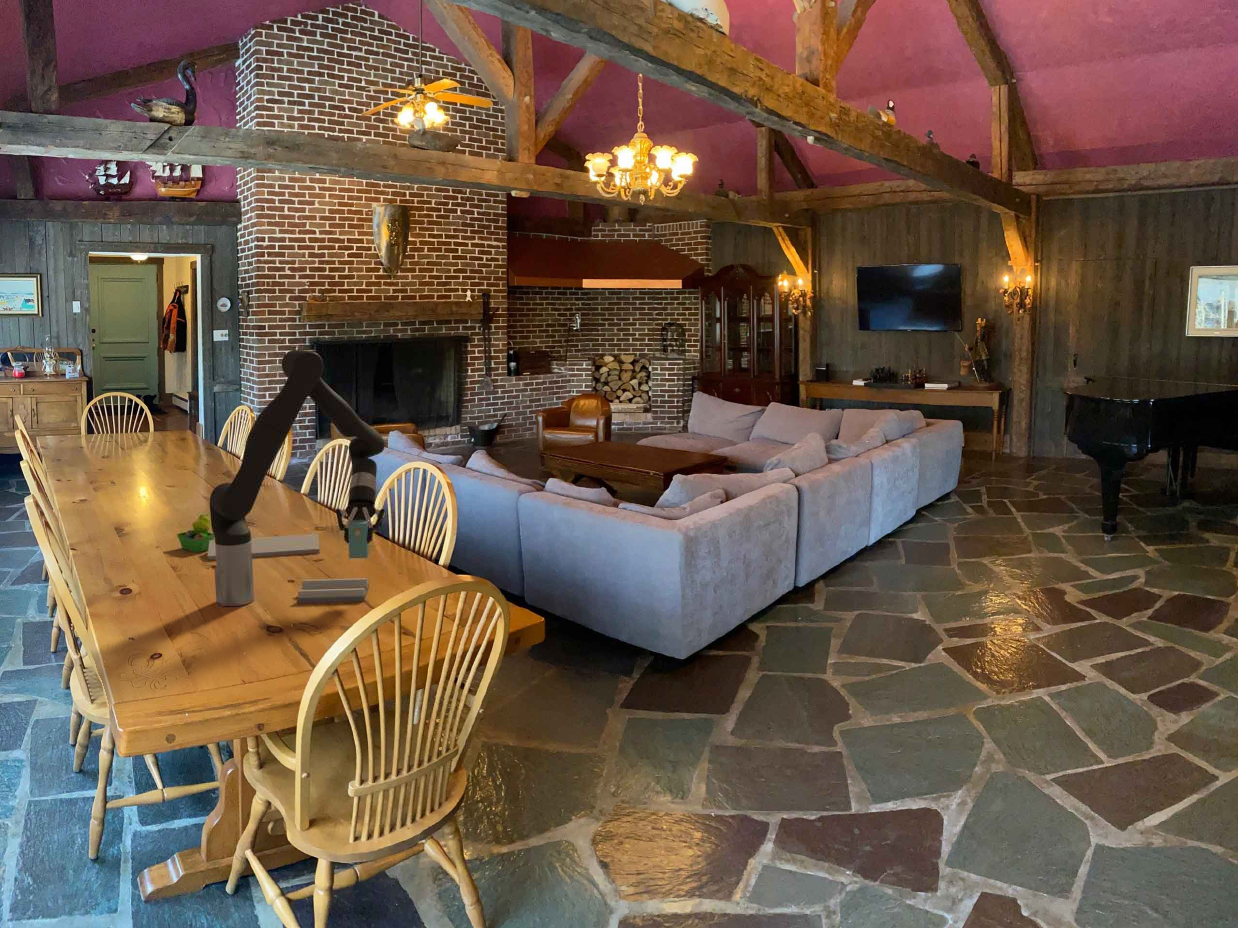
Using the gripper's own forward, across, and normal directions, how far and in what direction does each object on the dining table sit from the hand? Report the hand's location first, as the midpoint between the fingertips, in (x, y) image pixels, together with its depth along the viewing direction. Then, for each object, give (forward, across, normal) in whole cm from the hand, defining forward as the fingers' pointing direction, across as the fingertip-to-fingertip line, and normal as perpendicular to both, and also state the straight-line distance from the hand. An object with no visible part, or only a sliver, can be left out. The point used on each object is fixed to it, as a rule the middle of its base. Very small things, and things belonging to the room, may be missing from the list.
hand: (358, 541), depth 264 cm
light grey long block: (-24, -36, +49) cm, 65 cm away
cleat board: (+9, -7, +14) cm, 19 cm away
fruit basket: (-29, -59, +53) cm, 85 cm away
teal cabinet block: (+2, 0, +5) cm, 5 cm away
